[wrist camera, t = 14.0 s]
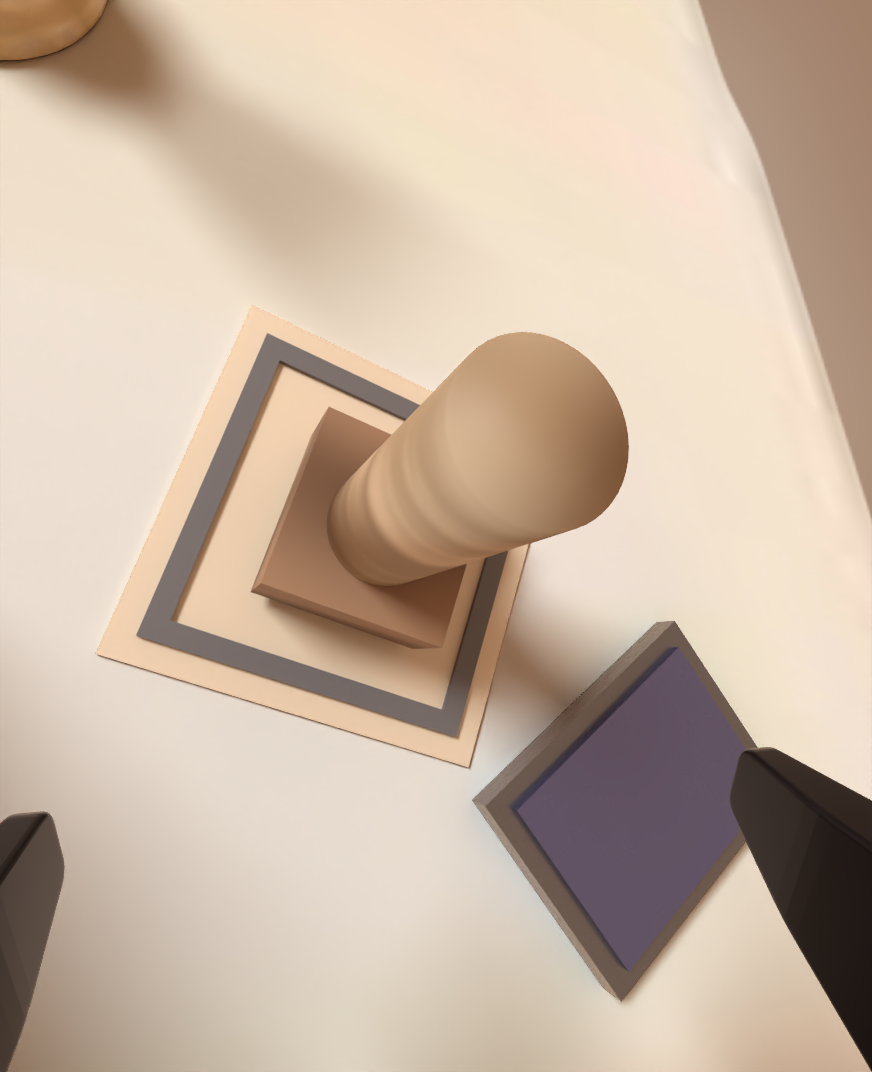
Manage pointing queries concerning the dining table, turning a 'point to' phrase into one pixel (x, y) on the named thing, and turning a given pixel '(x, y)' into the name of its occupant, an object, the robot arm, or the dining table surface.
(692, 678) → the ink pad
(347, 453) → the stamp
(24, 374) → the dining table surface
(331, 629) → the marked card
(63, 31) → the hand bell
